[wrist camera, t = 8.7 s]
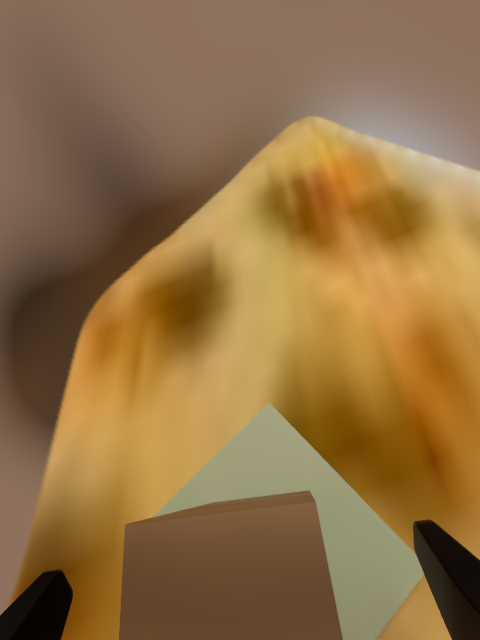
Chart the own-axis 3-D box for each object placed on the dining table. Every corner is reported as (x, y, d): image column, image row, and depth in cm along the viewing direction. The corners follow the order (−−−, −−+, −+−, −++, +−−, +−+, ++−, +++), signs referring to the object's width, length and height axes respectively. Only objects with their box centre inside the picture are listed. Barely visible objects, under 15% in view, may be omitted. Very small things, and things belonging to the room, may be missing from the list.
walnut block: (335, 624, 13) (382, 838, 5) (220, 633, 14) (108, 839, 6) (309, 490, 16) (315, 502, 8) (212, 502, 16) (125, 524, 8)
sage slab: (270, 728, 14) (265, 785, 12) (152, 531, 18) (128, 539, 16) (406, 553, 16) (428, 568, 14) (272, 412, 21) (269, 402, 18)
